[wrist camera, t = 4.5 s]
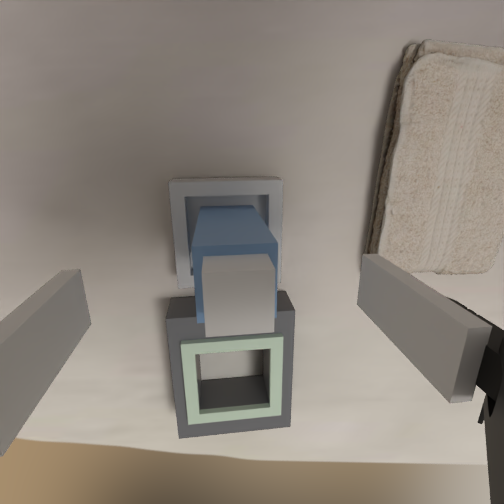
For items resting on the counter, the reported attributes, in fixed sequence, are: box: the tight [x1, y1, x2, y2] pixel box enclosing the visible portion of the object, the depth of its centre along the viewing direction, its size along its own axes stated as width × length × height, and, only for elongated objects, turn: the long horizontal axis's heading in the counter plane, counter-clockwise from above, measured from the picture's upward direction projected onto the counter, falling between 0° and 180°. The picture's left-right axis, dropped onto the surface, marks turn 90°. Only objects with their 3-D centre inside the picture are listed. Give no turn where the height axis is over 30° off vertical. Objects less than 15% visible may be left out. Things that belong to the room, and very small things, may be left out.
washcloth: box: [364, 39, 504, 275], centre depth 25 cm, size 12×18×3 cm, turn 179°
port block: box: [166, 291, 295, 439], centre depth 27 cm, size 12×10×4 cm
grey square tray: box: [168, 177, 283, 288], centre depth 24 cm, size 8×8×2 cm
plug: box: [191, 205, 278, 337], centre depth 19 cm, size 4×4×12 cm
